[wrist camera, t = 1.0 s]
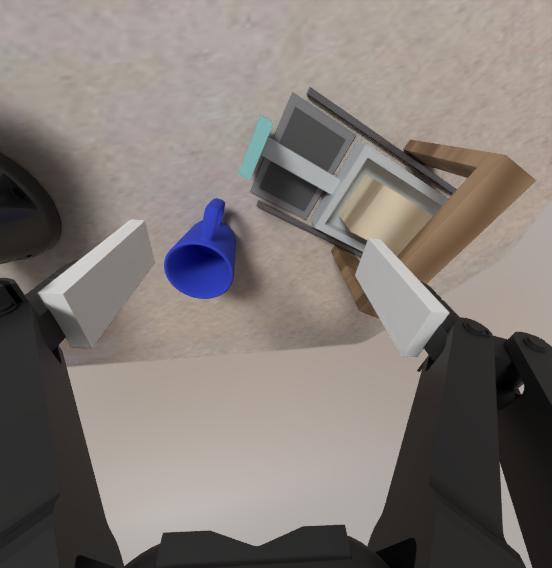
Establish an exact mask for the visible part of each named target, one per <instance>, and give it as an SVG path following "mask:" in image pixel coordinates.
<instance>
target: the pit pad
mask: <svg viewBox="0 0 552 568" xmlns="http://www.w3.org/2000/svg"><path fill="white" fill-rule="evenodd" d="M355 136H356V134H354V133H353V132H351V131H350V130H348V129H347V128H345V127H344V126H342V125H341V124H339V123H338V122H336V121H335V120H333V119H332V118H330V117H329V116H327V115H326V114H324V113H323V112H322V111H320V110H319V109H317V108H316V107H314V106H313V105H311V104H310V103H308V102H307V101H305V100H304V99H302V98H301V97H299V96H298V95H296V94H295V93H293V92H292V95H291V97H290V99H289V102H288V104H287V106H286V109H285V111H284V113H283V116H282V118H281V120H280V123H279V125H278V128H277V130H276V132H275V135H274V137H273V140H275V141H276V142H278V143H280V144H281V145H283V146H285V147H286V148H288V149H290V150H292V151H293V152H295V153H297V154H298V155H300V156H302V157H303V158H305V159H307V160H308V161H310V162H312V163H314V164H315V165H317V166H319V167H320V168H322V169H324V170H325V171H327V172H329V173H330V174H332V175H333V173H334V172H335V170H336V168H337V167H338V165H339V163H340V161H341V160H342V158H343V156H344V155H345V153H346V151H347V150H348V148H349V146H350V145H351V143H352V141H353V140H354V138H355ZM250 192H252V193H254V194H256V195H258V196H260V197H261V198H263V199H265V200H267V201H269V202H271V203H273V204H275V205H277V206H279V207H281V208H283V209H285V210H287V211H289V212H291V213H293V214H295V215H297V216H299V217H301V218H303V219H305V220H306V219H307V217H308V215H309V214H310V212H311V210H312V209H313V207H314V205H315V204H316V202H317V200H318V199H319V197H320V195H321V193H322V192H323V190H322V189H320V188H319V187H317V186H315V185H313V184H311V183H310V182H308V181H306V180H304V179H302V178H301V177H299V176H297V175H295V174H294V173H292V172H290V171H288V170H286V169H285V168H283V167H281V166H279V165H278V164H276V163H274V162H272V161H270V160H269V159H267V158H264V161H263V163H262V165H261V168H260V170H259V172H258V175H257V177H256V179H255V182H254V184H253V187H252V189H251V191H250Z"/></svg>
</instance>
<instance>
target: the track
mask: <svg viewBox="0 0 552 568" xmlns="http://www.w3.org/2000/svg"><path fill="white" fill-rule="evenodd" d="M307 94H308V95H309V96H311V97H312V98H313V99H315V100H316V101H318V102H319V103H321V104H322V105H324V106H325V107H327V108H328V109H330V110H331V111H332V112H334V113H335V114H337V115H338V116H340V117H341V118H343V119H344V120H346V121H347V122H348V123H350V124H351V125H353V126H354V127H356V128H357V129H359V130H360V131H362V132H363V133H365V134H366V135H367V136H369V137H370V138H372V139H373V140H375V141H376V142H378V143H379V144H381V145H382V146H384V147H385V148H386V149H388V150H389V151H391V152H392V153H394V154H395V155H397V156H398V157H400V158H401V159H402V160H404V161H405V162H407V163H408V164H410V165H411V166H413V167H414V168H416V169H417V170H419V171H420V172H421V173H423V174H424V175H426V176H427V177H429V178H430V179H432V180H433V181H435V182H436V183H437V184H439V185H440V186H442V187H443V188H445V189H446V190H448V191H449V192H451V193H452V194H454V193H455V191H456V190H457V189H456V188H454V187H453V186H451V185H450V184H448V183H447V182H446V181H444V180H443V179H441V178H440V177H438V176H437V175H436V174H434V173H433V172H431V171H430V170H428V169H427V168H426V167H424V166H423V165H421V164H420V163H418V162H417V161H416V160H414V159H413V158H411V157H410V156H408V155H407V154H405V153H404V152H403V151H401V150H400V149H398V148H397V147H395V146H394V145H393V144H391V143H390V142H388V141H387V140H385V139H384V138H383V137H381V136H380V135H378V134H377V133H375V132H374V131H373V130H371V129H370V128H368V127H367V126H365V125H364V124H363V123H361V122H360V121H358V120H357V119H355V118H354V117H353V116H351V115H350V114H348V113H347V112H345V111H344V110H343V109H341V108H340V107H338V106H337V105H335V104H334V103H333V102H331V101H330V100H328V99H327V98H325V97H324V96H322V95H321V94H320V93H318V92H317V91H315V90H314V89H312V88H311V87H310V88H309V90H308V92H307ZM257 206H258V207H260V208H262V209H264V210H266V211H268V212H270V213H272V214H274V215H276V216H278V217H281V218H283V219H285V220H287V221H289V222H291V223H293V224H295V225H297V226H299V227H301V228H303V229H305V230H307V231H309V232H311V233H313V234H315V235H317V236H319V237H321V238H323V239H325V240H327V241H330V242H332V243H334V244H336V245H338V246H340V247H342V248H344V249H346V250H348V251H350V252H352V253H354V254H356V255H358V256H360V257H362V254H363V252H361V251H359V250H357V249H355V248H353V247H351V246H349V245H347V244H345V243H343V242H341V241H339V240H337V239H335V238H333V237H331V236H329V235H327V234H325V233H323V232H321V231H319V230H317V229H315V228H313V227H311V226H309V225H307V224H305V223H303V222H301V221H299V220H297V219H295V218H293V217H291V216H289V215H287V214H285V213H283V212H281V211H279V210H277V209H275V208H273V207H271V206H269V205H267V204H265V203H263V202H261V201H259V200H258V202H257Z"/></svg>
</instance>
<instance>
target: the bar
mask: <svg viewBox="0 0 552 568" xmlns="http://www.w3.org/2000/svg"><path fill="white" fill-rule="evenodd" d="M339 216H340V218H341V219H342V220H343V222H344V223H345V224H346V226H347V227H348V229H349V230H350V231H351V232H352V233H354V234H356V235H358V236H360V237H362V238H364V239H366V240H368V238H372V239H380V240H381V241H382V242H383V243H384V244H385V245H386V246H387V247H388V248H389V249H390V250H391V251H392V252H393V253H394V254H395V255H396V256H398V255H399V253H400V252H401V251H402V250H403V249H404V248H405V247H406V246H407V245H408V243H409V242H410V241H411V240H412V239H413V238H414V237H415V236H416V235H417V234H418V232H419V231H420V230H421V229H422V228H423V227H424V226H425V225H426V224H427V222H428V221H429V220H430V219H431V218H432V217H433V215H432V214H430V213H428V212H427V211H425V210H423V209H422V208H420V207H419V206H417V205H415V204H414V203H412V202H411V201H409V200H407V199H406V198H404V197H403V196H401V195H399V194H398V193H396V192H395V191H393V190H391V189H390V188H388V187H387V186H385V185H383V184H382V183H380V182H378V181H377V180H375V179H373V178H371V177H370V176H368V175H365V176H364V178H363V179H362V181H361V182H360V184H359V185H358V187H357V188H356V190H355V191H354V193H353V194H352V196H351V197H350V199H349V200H348V202H347V203H346V205H345V206H344V208H343V209H342V211H341V212H340V214H339Z"/></svg>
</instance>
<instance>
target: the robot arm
mask: <svg viewBox="0 0 552 568" xmlns="http://www.w3.org/2000/svg"><path fill="white" fill-rule="evenodd" d="M60 233H61V223H60V218H59V215H58V212H57V209H56V207H55V205H54V203H53V202H52V200H51V198H50V197H49V195H48V194H47V193H46V191H45V190H44V189H43V188H42V186H41V185H40V184H39V183H38V182H37V181H36V180H35V179H34V178H33V177H32V176H31V175H30V174H29V173H28V172H26V171H25V170H24V169H23V168H21V167H20V166H19V165H17V164H16V163H15V162H13V161H12V160H10V159H9V158H7V157H5V156H4V155H2V154H0V264H3V263H7V262H11V261H14V260H22V259H28V258H32V257H35V256H37V255H39V254H41V253H43V252H44V251H46V250H48V249H49V248H51V247H52V246H54V245H55V244H56V242H57V241H58V239H59V237H60ZM154 263H155V262H154V257H153V253H152V249H151V244H150V240H149V236H148V232H147V227H146V223H145V221H143V220H129V221H128V222H127V223H126V224H124V225H123V226H122V227H121V228H119V229H118V230H117V231H115V232H114V233H113V234H112V235H110V236H109V237H108V238H107V239H105V240H104V241H103V242H101V243H100V244H99V245H98V246H96V247H95V248H94V249H93V250H91V251H90V252H89V253H88V254H86V255H85V256H84V257H82V258H81V259H80V260H76V261H73V262H71V263H69V264H67V265H64V266H63V267H62V268H60V269H59V270H58V271H56V272H55V274H52V275H51V276H50V277H48V278H47V280H44V281H43V282H42V283H40V284H39V285H38V286H36V287H35V288H34V289H32V290H31V291H30V292H29V293H27V294H26V295H24V293H23V292H22V291H21V289H20V288H19V286H18V285H17V283H16V282H15V281H14V280H13V279H9V278H0V568H526V567H525V565H524V563H523V561H522V559H521V557H520V555H519V554H518V553H517V552H516V551H515V550H514V549H512V548H511V547H510V546H509V545H508V544H507V543H506V541H505V538H504V535H503V525H502V504H501V482H500V464H501V467H502V470H503V474H504V477H505V480H506V483H507V487H508V490H509V493H510V496H511V499H512V503H513V506H514V509H515V513H516V516H517V519H518V522H519V526H520V529H521V532H522V535H523V539H524V542H525V545H526V548H527V552H528V555H529V558H530V561H531V565H532V568H552V347H551V346H550V345H549V344H547V343H546V342H545V341H544V340H542V339H539V337H537V336H533V335H531V334H528V333H524V332H515V333H514V334H513V335H512V336H511V337H510V338H509V339H508V340H507V339H504V338H500V337H496V336H493V335H492V333H491V332H490V331H489V330H488V329H487V328H486V327H484V326H483V325H482V324H480V323H478V322H476V321H474V320H471V319H468V318H460V317H459V316H458V315H457V314H456V313H455V312H454V311H453V310H452V309H451V308H450V307H449V306H448V305H447V304H446V303H445V302H444V301H443V300H442V299H441V297H440V296H439V295H436V292H435V291H434V290H433V289H432V288H431V287H430V286H428V285H427V284H425V283H424V282H422V281H420V280H418V279H417V278H416V277H415V276H414V274H413V273H412V272H411V271H410V270H409V269H408V268H407V267H406V266H405V265H404V264H403V263H402V262H401V261H400V260H399V259H398V258H397V256H396V255H395V254H394V253H393V252H392V251H391V250H390V249H389V248H388V247H387V246H386V245H385V244H384V243H383V242H382V241H381V240H380V239H372V238H368V240H367V243H366V246H365V249H364V252H363V254H362V257H361V260H360V263H359V265H358V268H357V271H356V274H355V276H356V278H357V280H358V282H359V283H360V285H361V287H362V289H363V290H364V292H365V294H366V296H367V297H368V299H369V301H370V302H371V304H372V306H373V308H374V309H375V311H376V313H377V315H378V316H379V318H380V320H381V322H382V323H383V325H384V327H385V329H386V330H387V332H388V334H389V335H390V337H391V339H392V341H393V343H394V344H395V346H396V348H397V349H398V351H399V353H400V355H401V356H402V357H418V356H419V354H420V353H421V351H422V350H423V349H425V350H426V352H427V353H428V357H427V358H426V359H425V361H424V362H423V363H422V365H421V366H420V367H419V369H418V370H417V371H418V372H420V371H421V370H422V372H421V376H420V379H419V384H418V387H417V391H416V394H415V398H414V401H413V405H412V409H411V412H410V416H409V420H408V423H407V427H406V431H405V434H404V438H403V441H402V445H401V449H400V452H399V456H398V459H397V464H396V467H395V471H394V475H393V478H392V481H391V485H390V489H389V492H388V496H387V500H386V503H385V507H384V510H383V513H382V515H381V517H380V519H379V520H378V522H377V524H376V526H375V527H374V530H373V532H372V535H371V537H370V540H369V543H368V547H367V546H366V545H364V544H363V543H362V542H360V541H358V540H356V539H354V538H352V537H350V536H347V532H346V528H345V525H327V526H304V527H301V528H298V529H296V530H294V531H292V532H290V533H288V534H285V535H283V536H281V537H279V538H276V539H274V540H272V541H270V542H268V543H265V544H263V545H261V546H252V545H250V544H247V543H244V542H241V541H238V540H235V539H232V538H229V537H227V536H224V535H221V534H218V533H215V532H212V531H194V532H193V531H191V532H170V533H163V535H162V539H161V543H160V544H158V545H156V546H154V547H152V548H150V549H148V550H147V551H145V552H143V553H141V554H140V555H139V556H137V557H136V558H134V559H133V560H132V561H130V562H129V563H128V564H127V565H126V566H124V564H123V560H122V557H121V554H120V550H119V547H118V545H117V542H116V540H115V538H114V536H113V534H112V532H111V530H110V529H109V526H108V524H107V521H106V518H105V514H104V510H103V506H102V502H101V498H100V495H99V491H98V487H97V483H96V479H95V475H94V472H93V468H92V464H91V460H90V456H89V453H88V448H87V445H86V441H85V437H84V433H83V429H82V426H81V421H80V418H79V414H78V410H77V406H76V402H75V399H74V394H73V391H72V387H71V383H70V379H69V376H68V371H67V368H66V364H65V360H64V356H63V352H62V350H61V349H60V347H59V346H58V345H59V344H60V343H61V342H62V341H63V340H64V338H66V339H67V341H68V342H69V344H70V346H71V347H72V348H93V347H94V345H95V344H96V343H97V341H98V340H99V338H100V337H101V336H102V334H103V333H104V332H105V330H106V329H107V327H108V326H109V325H110V323H111V322H112V321H113V319H114V318H115V317H116V315H117V314H118V312H119V311H120V310H121V308H122V307H123V306H124V304H125V303H126V302H127V300H128V299H129V297H130V296H131V295H132V293H133V292H134V291H135V289H136V288H137V287H138V285H139V284H140V282H141V281H142V280H143V278H144V277H145V276H146V274H147V273H148V272H149V270H150V269H151V267H152V266H153V265H154ZM523 384H524V391H523V394H521V393H520V391H519V389H518V388H519V387H520V386H522V385H523ZM499 462H500V463H499Z"/></svg>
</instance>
